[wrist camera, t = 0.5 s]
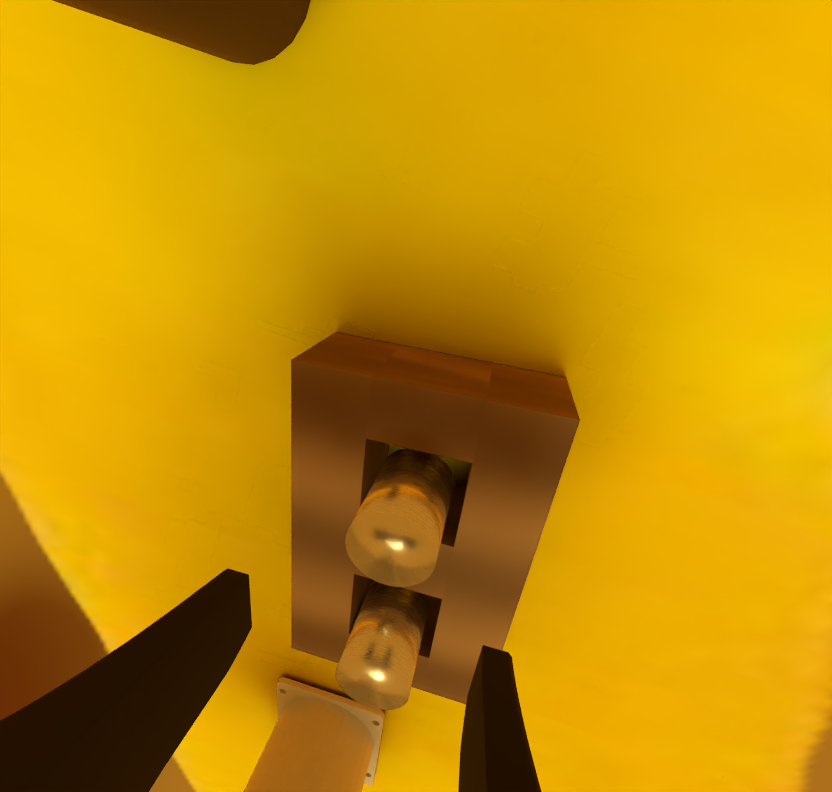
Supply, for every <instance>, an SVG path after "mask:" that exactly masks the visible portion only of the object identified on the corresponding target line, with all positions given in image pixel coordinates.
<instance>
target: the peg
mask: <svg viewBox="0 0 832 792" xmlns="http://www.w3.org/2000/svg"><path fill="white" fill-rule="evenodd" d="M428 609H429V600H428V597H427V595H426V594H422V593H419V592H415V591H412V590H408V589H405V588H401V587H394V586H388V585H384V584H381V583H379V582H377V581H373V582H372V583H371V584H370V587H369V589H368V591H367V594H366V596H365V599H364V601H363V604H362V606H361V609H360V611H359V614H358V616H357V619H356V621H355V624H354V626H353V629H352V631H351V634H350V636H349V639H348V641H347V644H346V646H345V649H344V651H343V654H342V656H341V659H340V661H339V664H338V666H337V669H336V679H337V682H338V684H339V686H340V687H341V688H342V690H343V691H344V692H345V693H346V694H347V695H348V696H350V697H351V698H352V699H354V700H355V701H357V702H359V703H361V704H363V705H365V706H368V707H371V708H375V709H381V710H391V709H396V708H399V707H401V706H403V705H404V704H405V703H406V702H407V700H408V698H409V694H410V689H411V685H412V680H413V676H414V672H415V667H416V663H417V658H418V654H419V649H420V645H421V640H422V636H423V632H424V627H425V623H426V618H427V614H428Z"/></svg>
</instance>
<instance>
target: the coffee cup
mask: <svg viewBox="0 0 832 792" xmlns="http://www.w3.org/2000/svg"><path fill="white" fill-rule="evenodd" d="M53 1H56V2H59V3H62V4H65V5H68V6H71V7H74V8H77V9H80V10H82V11H85V12H88V13H91V14H94V15H97V16H100V17H103V18H106V19H109V20H112V21H115V22H117V23H120V24H123V25H126V26H129V27H132V28H135V29H138V30H141V31H144V32H147V33H150V34H152V35H155V36H158V37H161V38H164V39H167V40H170V41H173V42H176V43H179V44H182V45H185V46H188V47H190V48H193V49H196V50H199V51H202V52H205V53H208V54H211V55H214V56H217V57H220V58H223V59H225V60H228V61H231V62H236V63H245V64H253V65H254V64H257V63H260V62H263V61H266V60H269V59H272V58H275V57H276V56H277V55H278V54H279V53H280V52H281V51H282V50H284V49H285V48H286V47H287V46H288V45H289V44H290V43H292V41H293V39H294V38H295V36H296V34H297V32H298V31H299V29H300V27H301V25H302V24H303V22H304V20H305V18H306V14H307V10H308V7H309V3H310V0H53Z"/></svg>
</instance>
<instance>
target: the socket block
mask: <svg viewBox="0 0 832 792" xmlns="http://www.w3.org/2000/svg"><path fill="white" fill-rule="evenodd" d="M579 421H580V419H579V416H578V413H577V410H576V407H575V404H574V401H573V397H572V394H571V391H570V388H569V385H568V382H567V379H566V377H563V376H558V375H552V374H547V373H542V372H537V371H532V370H527V369H522V368H516V367H511V366H506V365H501V364H496V363H491V362H486V361H481V360H475V359H470V358H465V357H460V356H455V355H450V354H445V353H439V352H434V351H429V350H424V349H419V348H414V347H409V346H404V345H398V344H393V343H388V342H383V341H378V340H373V339H368V338H362V337H357V336H352V335H347V334H342V333H337V332H336V333H334V334H332V335H331V336H329V337H328V338H326V339H324V340H323V341H321V342H319V343H318V344H316V345H315V346H313V347H311V348H310V349H308V350H307V351H305V352H303V353H302V354H300V355H298V356H297V357H295V358H294V359H292V360H291V513H292V648H293V649H296V650H300V651H303V652H306V653H309V654H312V655H315V656H318V657H321V658H324V659H327V660H331V661H334V662H337V663H339V661H340V659H341V656H342V654H343V651H344V649H345V646H346V644H347V641H348V639H349V636H350V634H351V631H352V629H353V626H354V624H355V621H356V619H357V616H358V614H359V611H360V609H361V606H362V604H363V601H364V599H365V596H366V594H367V591H368V589H369V587H370V584H371V583H372V582H373V581H374V580H372V579H371V578H369V577H367V576H366V575H365V574H363V573H362V572H361V571H360V570H359V569H358V568H357V567H356V566H355V565H354V563H353V562H352V561H351V559H350V557H349V555H348V553H347V550H346V544H345V539H346V534H347V531H348V529H349V527H350V525H351V523H352V521H353V520H354V518H355V516H356V514H357V512H358V510H359V509H360V507H361V505H362V503H363V501H364V499H365V498H366V496H367V494H368V492H369V490H370V488H371V487H372V485H373V483H374V481H375V479H376V477H377V476H378V474H379V472H380V470H381V468H382V466H383V464H384V463H385V461H386V459H387V458H388V450H389V444H391V445H396V446H400V447H404V448H409V449H413V450H417V451H421V452H426V453H430V454H434V455H439V456H443V457H447V458H451V459H456V460H460V461H464V462H469V463H471V464H470V468H469V473H468V477H467V482H466V486H465V488H463V487H459V486H455V485H454V488H453V492H452V497H451V501H450V505H449V510H448V514H447V518H446V522H445V527H444V531H443V535H442V540H441V544H440V548H439V552H438V557H437V561H436V565H435V568H434V570H433V572H432V574H431V575H430V576H429V577H428V578H427V579H426V580H425V581H423V582H421V583H419V584H417V585H414V586H409V587H401V588H405V589H408V590H412V591H415V592H419V593H422V594H426V595H427V597H428V600H429V609H428V614H427V618H426V623H425V627H424V632H423V636H422V640H421V645H420V649H419V654H418V658H417V663H416V667H415V672H414V676H413V680H412V685H411V687H414V688H417V689H420V690H423V691H426V692H429V693H433V694H436V695H439V696H442V697H445V698H448V699H451V700H454V701H457V702H460V703H464V704H466V702H467V695H468V692H469V689H470V685H471V682H472V679H473V676H474V672H475V669H476V666H477V662H478V659H479V656H480V653H481V649H482V646H483V645H485V646H488V647H492V648H495V649H498V650H502V649H503V646H504V643H505V640H506V637H507V634H508V631H509V628H510V625H511V622H512V619H513V617H514V614H515V611H516V608H517V605H518V602H519V599H520V596H521V593H522V590H523V587H524V584H525V581H526V578H527V575H528V572H529V569H530V566H531V563H532V560H533V557H534V554H535V551H536V548H537V545H538V542H539V539H540V537H541V534H542V531H543V528H544V525H545V522H546V519H547V516H548V513H549V510H550V507H551V504H552V501H553V498H554V495H555V492H556V489H557V486H558V483H559V480H560V477H561V474H562V471H563V468H564V465H565V462H566V459H567V457H568V454H569V451H570V448H571V445H572V442H573V439H574V436H575V433H576V430H577V427H578V424H579Z"/></svg>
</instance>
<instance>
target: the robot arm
mask: <svg viewBox="0 0 832 792" xmlns="http://www.w3.org/2000/svg"><path fill="white" fill-rule="evenodd" d="M251 628H252V621H251V604H250V588H249V575H248V574H245V573H241V572H238V571H235V570H231V569H226V570H224V571H223V572H222V573H220V574H219V575H218V576H216V577H215V578H214V579H212V580H211V581H210V582H208V583H207V584H206V585H204V586H203V587H202V588H200V589H199V590H198V591H196V592H195V593H194V594H192V595H191V596H190V597H188V598H187V599H186V600H184V601H183V602H182V603H180V604H179V605H178V606H176V607H175V608H174V609H172V610H171V611H170V612H168V613H167V614H165V615H164V616H163V617H161V618H160V619H159V620H157V621H156V622H154V623H153V624H152V625H150V626H149V627H147V628H146V629H145V630H143V631H142V632H140V633H139V634H138V635H136V636H135V637H133V638H132V639H130V640H129V641H128V642H126V643H125V644H123V645H122V646H120V647H119V648H117V649H116V650H114V651H113V652H111V653H110V654H108V655H107V656H105V657H104V658H102V659H101V660H99V661H98V662H96V663H95V664H93V665H92V666H90V667H89V668H87V669H86V670H84V671H82V672H81V673H79V674H78V675H76V676H75V677H73V678H71V679H70V680H68V681H67V682H65V683H63V684H62V685H60V686H58V687H57V688H55V689H54V690H52V691H50V692H49V693H47V694H45V695H44V696H42V697H40V698H39V699H37V700H35V701H34V702H32V703H30V704H29V705H27V706H25V707H23V708H22V709H20V710H18V711H16V712H15V713H13V714H11V715H9V716H8V717H6V718H4V719H2V720H0V792H149V791H150V789H151V787H152V786H153V784H154V783H155V781H156V779H157V778H158V776H159V775H160V773H161V771H162V770H163V768H164V767H165V765H166V763H167V762H168V761H169V759H170V758H171V756H172V755H173V753H174V752H175V750H176V749H177V747H178V746H179V744H180V743H181V741H182V740H183V738H184V737H185V735H186V734H187V732H188V731H189V729H190V728H191V726H192V725H193V723H194V722H195V720H196V719H197V717H198V716H199V714H200V713H201V711H202V710H203V708H204V707H205V705H206V704H207V702H208V701H209V699H210V698H211V696H212V695H213V693H214V692H215V690H216V689H217V687H218V686H219V684H220V683H221V681H222V680H223V678H224V677H225V675H226V674H227V672H228V671H229V669H230V667H231V665H232V663H233V662H234V660H235V658H236V656H237V654H238V653H239V651H240V649H241V647H242V645H243V643H244V641H245V639H246V637H247V635H248V633H249V631H250V630H251ZM277 713H278V721H277V723H276V725H275V727H274V729H273V731H272V733H271V735H270V737H269V740H268V742H267V744H266V746H265V748H264V750H263V752H262V754H261V756H260V758H259V761H258V763H257V765H256V767H255V769H254V771H253V773H252V775H251V777H250V779H249V781H248V784H247V786H246V788H245V790H244V792H361V791H362V788H363V784H367V785H372V784H373V782H374V778H375V772H376V766H377V760H378V754H379V748H380V742H381V736H382V730H383V724H384V718H385V714H384V712H383V711H382V710H380V709H375V708H371V707H368V706H365V705H363V704H361V703H359V702H357V701H354V700H351V699H348V698H345V697H342V696H339V695H336V694H333V693H330V692H327V691H324V690H321V689H318V688H315V687H312V686H309V685H306V684H303V683H300V682H297V681H294V680H291V679H288V678H285V677H281V678H279V680H278V682H277ZM459 792H541V789H540V785H539V781H538V778H537V774H536V770H535V766H534V762H533V759H532V755H531V751H530V747H529V743H528V739H527V735H526V731H525V726H524V722H523V717H522V713H521V708H520V703H519V698H518V693H517V688H516V682H515V676H514V670H513V663H512V657H511V655H510V654H509V653H508V652H505V651H502V650H498V649H495V648H492V647H488V646H485V645H483V646H482V649H481V653H480V656H479V659H478V662H477V666H476V669H475V672H474V676H473V679H472V682H471V685H470V689H469V692H468V695H467V702H466V710H465V717H464V725H463V733H462V741H461V751H460V771H459Z"/></svg>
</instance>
